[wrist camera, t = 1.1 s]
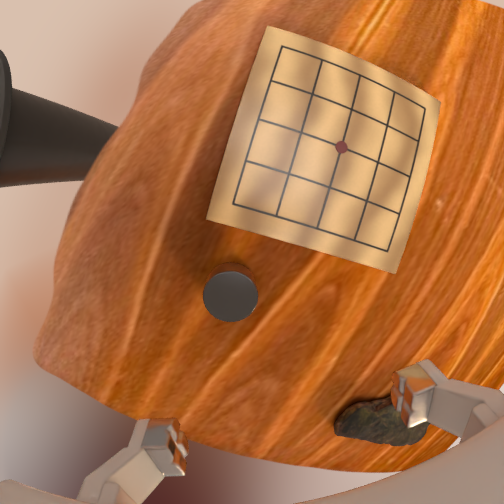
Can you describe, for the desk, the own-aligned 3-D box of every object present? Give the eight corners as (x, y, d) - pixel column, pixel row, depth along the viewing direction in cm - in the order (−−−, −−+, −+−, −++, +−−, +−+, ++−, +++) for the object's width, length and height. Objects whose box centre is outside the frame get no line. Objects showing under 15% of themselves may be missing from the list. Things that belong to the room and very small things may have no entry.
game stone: (200, 302, 30) (197, 314, 27) (212, 256, 29) (210, 264, 26) (248, 314, 31) (249, 327, 28) (262, 269, 30) (265, 279, 27)
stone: (326, 427, 35) (331, 441, 33) (374, 364, 33) (383, 377, 30) (408, 436, 38) (415, 447, 36) (450, 384, 36) (459, 394, 33)
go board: (207, 217, 28) (205, 219, 27) (266, 31, 24) (267, 24, 23) (389, 270, 31) (395, 274, 29) (433, 104, 26) (441, 101, 25)
